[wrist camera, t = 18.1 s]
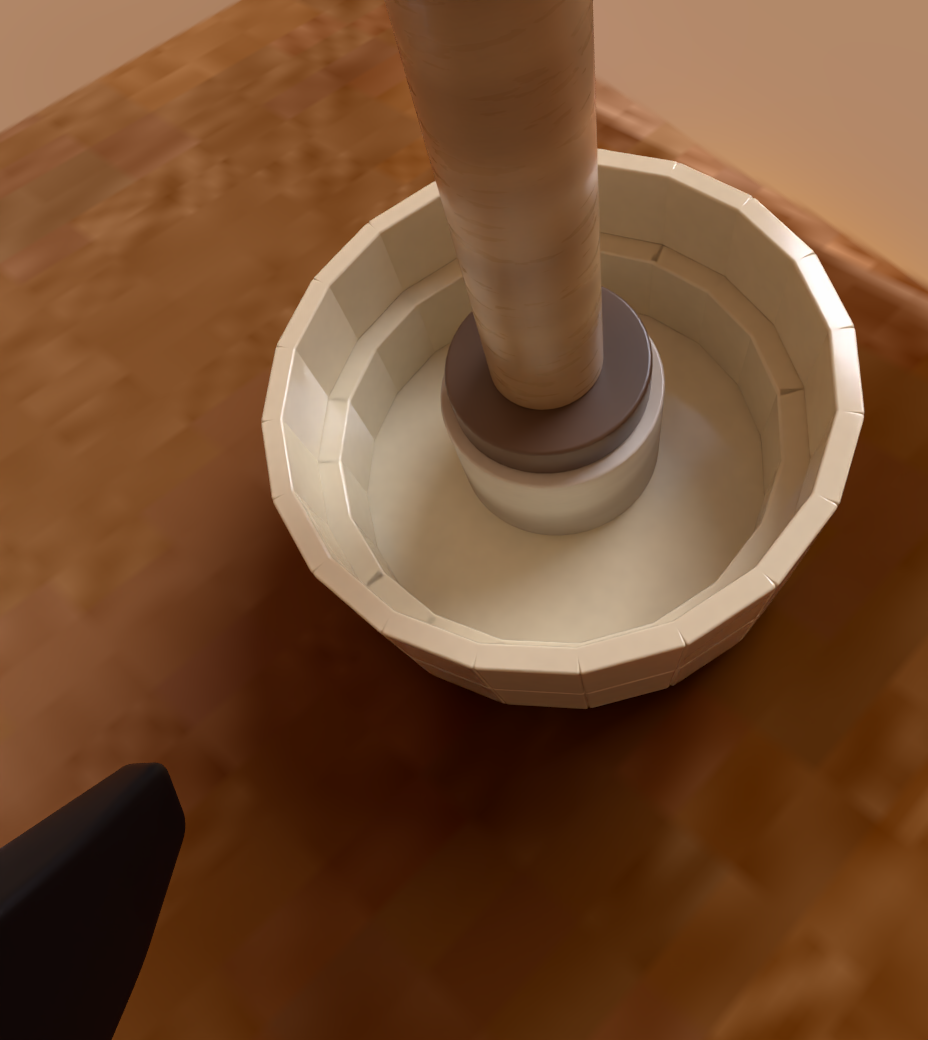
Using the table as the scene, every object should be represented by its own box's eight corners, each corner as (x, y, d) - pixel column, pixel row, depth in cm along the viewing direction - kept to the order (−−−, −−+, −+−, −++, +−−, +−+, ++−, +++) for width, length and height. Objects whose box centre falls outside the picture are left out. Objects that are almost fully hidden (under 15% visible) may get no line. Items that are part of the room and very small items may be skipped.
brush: (651, 545, 19) (710, 52, 7) (449, 527, 20) (194, 78, 8) (665, 365, 20) (732, -284, 8) (478, 358, 21) (305, -223, 10)
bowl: (902, 428, 19) (990, 304, 15) (603, 823, 17) (598, 823, 13) (525, 224, 24) (503, 80, 19) (254, 520, 22) (155, 438, 17)
